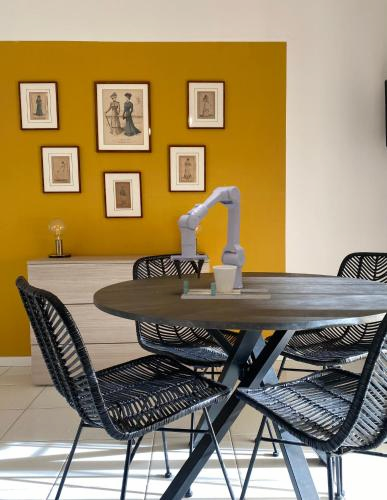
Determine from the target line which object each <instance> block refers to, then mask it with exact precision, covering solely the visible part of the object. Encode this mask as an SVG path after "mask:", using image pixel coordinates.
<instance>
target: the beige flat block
mask: <svg viewBox="0 0 387 500" xmlns="http://www.w3.org/2000/svg"><path fill="white" fill-rule="evenodd" d="M189 287H190V285H189V279H184V280H183V294H211V290H189V289H190V288H189ZM215 294H241V292H240V290H233V292H231V293H218V292H217V290H215Z"/></svg>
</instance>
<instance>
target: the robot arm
mask: <svg viewBox="0 0 387 500" xmlns="http://www.w3.org/2000/svg"><path fill="white" fill-rule="evenodd" d="M218 203H220V204H222V205H223V206H224V207H226V209H227V230H226V231H227V234H226V235H227V236H226V245H225V246H224V247H223V248H222V254H221V256H220V259H221V264H223V265H222V266H236V267H237V268H236V274H235V279H234V286H233V289H244V288H243V281H242V280H243V279H242V278H243V277H242V270H243V267H244V265H245V263H246V254H245V249H244V248H243V247H242V246H241V245H240V239H241V237H240V236H241V209H242V207H241V205H242V204H241V191H240V189H239V188H238V187H237V186H236V185H232V186H218V187H216V188H215V189H214V190H213V191H212V194H210V196H208V197H207V198H206V199H205V201H204V202H203V203H196V204H195V205H193V206H194V207H193V208H192V209H191V210H190V211H189V210H188V211H187V212H186V214H182V215H181V216H180V217H179V219H178V221H177V226H178V227H179V230H180V231H179V232H180V236H181V237H180V239H181V255H171V256H170V261H171V262H172V263H173V265H174V267H175V269H176V272H177V275H178V276H177V277H178V279H179V280H180V279H182V272H181V263H182V262H181V261H183V262H184V261H185V262H186V261H187V262H188V261H189V262H190V261H193V262H194V261H197V279H200V278H201V272H202V268H203V265H204V263H205V262H206V261H208V255H204V254H201V255H199V254H197V249H196V248H197V247H196V245H197V244H196V243H197V242H196V241H197V240H196V237H197V236H196V229H197V228H199V224H200V222H201V221H202V220H203V219H204V218H205V217H206V216H207V215H208V213H209V211H210V209H212V208H213V207H214V206H215V205H216V204H218Z"/></svg>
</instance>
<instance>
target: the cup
mask: <svg viewBox="0 0 387 500" xmlns="http://www.w3.org/2000/svg"><path fill="white" fill-rule="evenodd" d="M236 268H237V267H236V266H224V265H215V266H212V270H213V278H214V283H215V289H216V290H217V292H218V293H231V292H233V289H234V288H233V286H234V279H235V274H236Z"/></svg>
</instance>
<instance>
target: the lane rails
mask: <svg viewBox="0 0 387 500" xmlns="http://www.w3.org/2000/svg"><path fill="white" fill-rule="evenodd" d="M189 290H211V294H184V293H181V295H180V298H181V300H193V299H195V300H196V299H197V300H199V299H200V300H210V299H211V300H220V299H221V300H226V299H227V300H237V299H238V300H239V299H240V300H242V299H243V300H247V299H248V300H253V299H254V300H271V298H272V297H271V294H270V293H269V289H268V288H233V290H240V294H215V290H216V283H215V282H211V283H210V288H189ZM242 292H243V293H242ZM247 292H249V293H247ZM257 292H258V293H257ZM265 292H266V293H265ZM267 292H268V293H267Z"/></svg>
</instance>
